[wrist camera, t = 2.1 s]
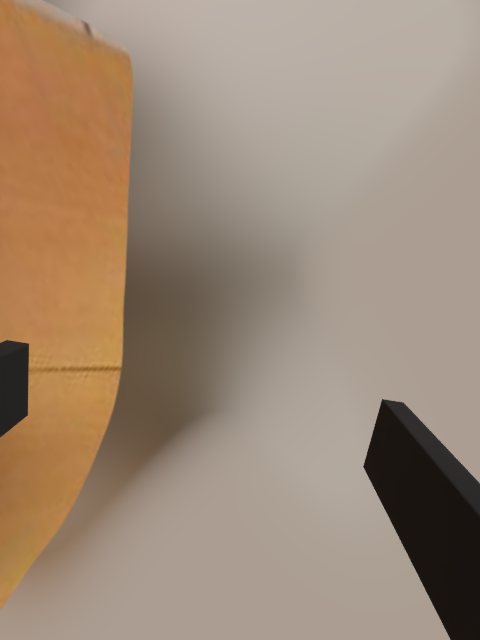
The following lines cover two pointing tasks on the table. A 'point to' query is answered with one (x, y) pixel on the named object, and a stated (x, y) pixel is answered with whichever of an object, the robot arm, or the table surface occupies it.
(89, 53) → the table surface
